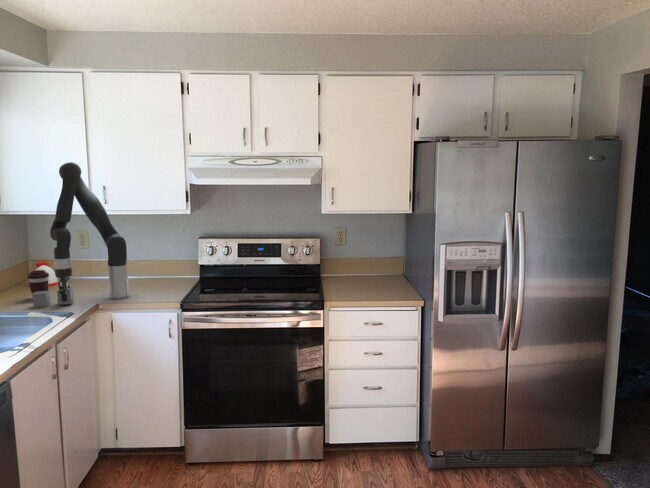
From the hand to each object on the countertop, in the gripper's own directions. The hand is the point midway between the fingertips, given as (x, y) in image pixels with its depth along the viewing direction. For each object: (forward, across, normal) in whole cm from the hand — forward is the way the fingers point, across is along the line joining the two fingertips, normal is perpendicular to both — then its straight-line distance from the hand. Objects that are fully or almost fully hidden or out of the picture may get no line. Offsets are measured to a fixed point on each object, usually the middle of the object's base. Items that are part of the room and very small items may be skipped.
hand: (65, 299), depth 266 cm
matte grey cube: (+2, 0, 0) cm, 2 cm away
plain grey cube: (+3, 0, +11) cm, 11 cm away
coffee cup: (+3, +16, +16) cm, 23 cm away
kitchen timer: (+3, +53, +23) cm, 58 cm away
